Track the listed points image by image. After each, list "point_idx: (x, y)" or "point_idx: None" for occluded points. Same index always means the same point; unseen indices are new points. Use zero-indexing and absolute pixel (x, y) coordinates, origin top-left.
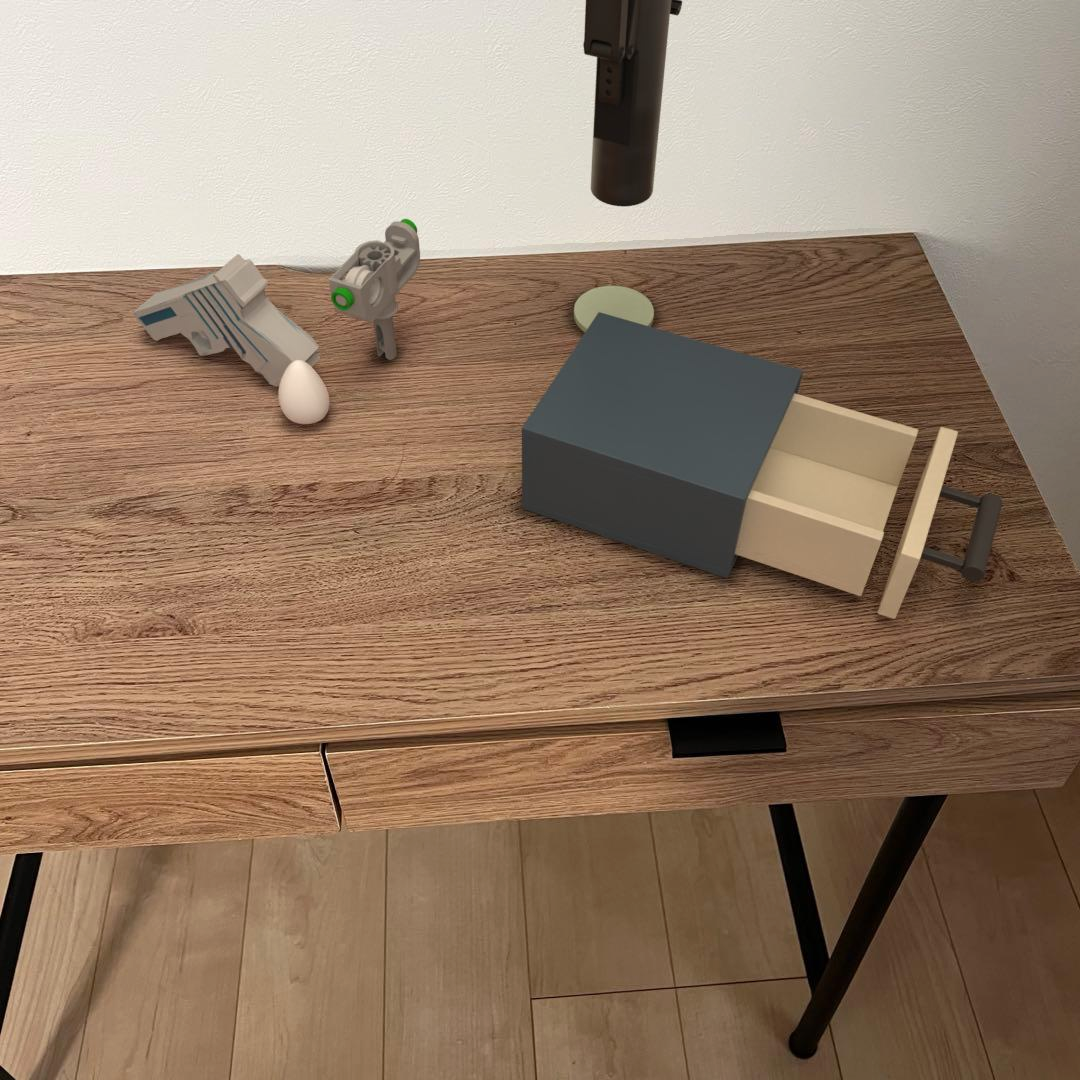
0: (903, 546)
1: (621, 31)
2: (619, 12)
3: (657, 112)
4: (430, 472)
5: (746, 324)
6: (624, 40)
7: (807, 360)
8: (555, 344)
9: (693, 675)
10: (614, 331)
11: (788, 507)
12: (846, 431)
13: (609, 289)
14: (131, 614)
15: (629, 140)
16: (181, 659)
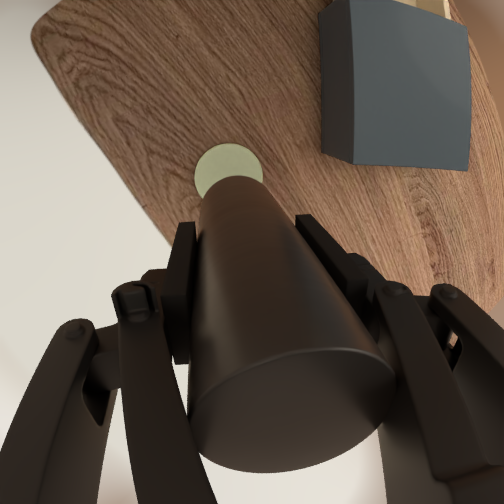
0: None
1: (482, 316)
2: None
3: (254, 204)
4: (414, 217)
5: (186, 75)
6: (450, 305)
7: (209, 20)
8: (281, 201)
9: (469, 49)
10: (371, 142)
11: (447, 2)
12: None
13: (204, 192)
14: (488, 282)
15: (309, 216)
16: (500, 253)
